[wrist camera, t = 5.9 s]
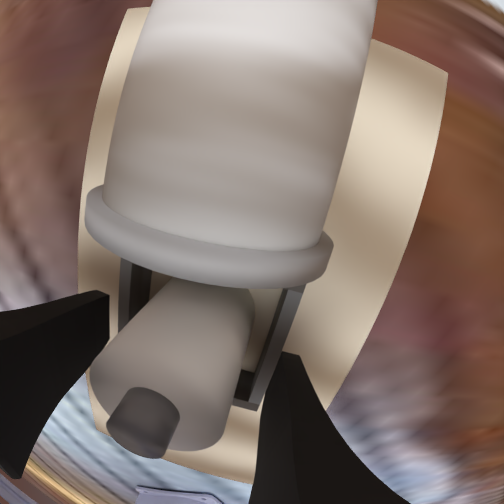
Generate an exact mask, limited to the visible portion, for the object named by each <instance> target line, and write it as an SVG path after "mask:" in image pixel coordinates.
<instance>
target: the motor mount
mask: <svg viewBox="0 0 504 504" xmlns="http://www.w3.org/2000/svg"><path fill="white" fill-rule="evenodd" d="M377 1H378V0H153V3H152V5H151V7H144V8H132V9H128V10H127V12H126V15H125V17H124V20H123V22H122V25H121V27H120V30H119V33H118V35H117V38H116V41H115V44H114V47H113V50H112V52H111V56H110V59H109V62H108V65H107V68H106V72H105V75H104V79H103V82H102V86H101V89H100V93H99V97H98V101H97V105H96V110H95V114H94V119H93V123H92V128H91V133H90V139H89V144H88V150H87V156H86V162H85V169H84V177H83V185H82V194H81V205H80V217H79V234H78V294H80V293H84V292H88V291H92V290H99V291H101V292H104V293H106V294H109V295H110V339H109V341H108V343H107V344H106V346H107V345H108V344H109V343H110V342H111V341H112V340H113V338H114V337H115V336H116V335H117V334H118V333H119V332H120V331H121V330H122V329H123V328H124V327H125V326H126V325H127V324H128V323H129V322H130V321H131V320H132V318H133V317H134V316H135V315H136V314H137V313H138V312H139V311H140V310H141V309H142V308H143V307H144V306H145V305H146V304H147V303H148V302H149V301H150V300H151V299H152V298H153V297H154V296H155V295H156V294H157V293H158V292H159V291H160V290H161V289H162V288H163V287H164V286H165V285H166V284H167V283H168V282H169V281H170V280H171V279H172V278H173V277H177V278H180V279H185V280H190V281H194V282H199V283H204V284H210V285H217V286H224V287H233V288H247V289H248V290H249V291H250V293H251V296H252V298H253V301H254V306H255V318H254V322H253V326H252V330H251V334H250V338H249V341H248V345H247V349H246V353H245V357H244V360H243V364H242V368H241V372H240V375H239V379H238V383H237V386H236V390H235V394H234V397H233V401H232V405H231V408H230V412H229V416H228V419H227V423H226V426H225V430H224V433H223V435H222V437H221V439H220V440H219V441H218V442H217V443H216V444H214V445H213V446H211V447H209V448H206V449H203V450H198V451H175V450H170V449H167V450H166V453H165V455H164V456H163V457H161V459H164V460H167V461H170V462H173V463H175V464H178V465H181V466H184V467H187V468H191V469H194V470H197V471H200V472H204V473H207V474H211V475H214V476H218V477H222V478H226V479H230V480H234V481H239V482H243V483H248V484H253V482H254V476H255V469H256V459H257V448H258V436H259V425H260V415H261V410H262V405H263V401H264V396H265V392H266V389H267V387H268V384H269V382H270V379H271V377H272V375H273V372H274V370H275V367H276V365H277V362H278V360H279V357H280V354H281V352H282V351H284V352H288V353H292V354H297V355H300V357H301V359H302V362H303V364H304V367H305V369H306V372H307V374H308V376H309V378H310V381H311V383H312V385H313V387H314V389H315V392H316V394H317V396H318V398H319V400H320V402H321V404H322V405H323V407H324V409H325V411H326V409H327V408H328V406H329V405H330V403H331V401H332V400H333V398H334V397H335V395H336V393H337V391H338V390H339V388H340V386H341V385H342V383H343V381H344V379H345V378H346V376H347V374H348V372H349V371H350V369H351V367H352V365H353V363H354V361H355V360H356V358H357V356H358V354H359V352H360V350H361V348H362V346H363V344H364V342H365V340H366V338H367V336H368V334H369V332H370V330H371V328H372V326H373V324H374V322H375V320H376V318H377V316H378V314H379V311H380V309H381V307H382V305H383V303H384V300H385V298H386V296H387V294H388V291H389V289H390V287H391V284H392V282H393V279H394V277H395V274H396V272H397V269H398V267H399V264H400V262H401V259H402V257H403V254H404V251H405V249H406V246H407V243H408V240H409V237H410V235H411V232H412V229H413V226H414V223H415V220H416V217H417V214H418V210H419V207H420V204H421V201H422V197H423V194H424V191H425V187H426V183H427V180H428V176H429V172H430V168H431V164H432V160H433V156H434V152H435V148H436V143H437V138H438V134H439V129H440V124H441V118H442V113H443V107H444V101H445V94H446V87H447V79H448V73H447V72H445V71H443V70H441V69H439V68H437V67H435V66H433V65H432V64H430V63H428V62H425V61H423V60H421V59H419V58H417V57H415V56H413V55H411V54H408V53H406V52H404V51H401V50H399V49H397V48H394V47H392V46H389V45H387V44H384V43H382V42H379V41H376V40H374V39H371V36H372V31H373V25H374V20H375V14H376V8H377ZM106 346H105V347H106ZM105 347H104V348H105ZM90 367H91V366H90ZM90 367H89V368H88V369H87V370H86V371H85V373H86V379H87V385H88V391H89V397H90V402H91V407H92V411H93V416H94V421H95V425H96V429H97V430H98V431H100V432H102V433H104V434H106V435H108V436H110V437H111V435H110V434H109V432H108V431H107V428H106V422H107V421H108V419H109V418H110V416H109V415H108V414H107V412H106V411H105V410H104V409H103V408H102V406H101V405H100V403H99V402H98V400H97V398H96V397H95V394H94V392H93V390H92V387H91V383H90V374H89V372H90Z"/></svg>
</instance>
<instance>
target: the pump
mask: <svg viewBox="0 0 504 504" xmlns="http://www.w3.org/2000/svg"><path fill="white" fill-rule="evenodd" d="M254 318H255V306H254V301H253V298H252V296H251V293H250V291H249V290H248V289H247V288H233V287H224V286H217V285H210V284H204V283H199V282H194V281H190V280H185V279H180V278H177V277H173V278H172V279H171V280H170V281H169V282H168V283H167V284H166V285H165V286H164V287H163V288H162V289H161V290H160V291H159V292H158V293H157V294H156V295H155V296H154V297H153V298H152V299H151V300H150V301H149V302H148V303H147V304H146V305H145V306H144V307H143V308H142V309H141V310H140V311H139V312H138V313H137V314H136V315H135V316H134V317H133V318H132V320H131V321H130V322H129V323H128V324H127V325H126V326H125V327H124V328H123V329H122V330H121V331H120V332H119V333H118V334H117V335H116V336H115V337H114V338H113V340H112V341H111V342H110V343H109V344H108V345H107V346H106V347H105V348H104V349H103V350H102V351H101V352H100V354H99V355H98V356H97V357H96V358H95V359H94V361H93V362H92V364H91V367H90V372H89V374H90V383H91V387H92V390H93V392H94V394H95V397H96V398H97V400H98V402H99V403H100V405H101V406H102V408H103V409H104V410H105V411H106V412H107V414H108V415H109V416H110V418H109V419H108V421H107V422H106V428H107V431H108V432H109V434H110V435H111V437H112V438H113V439H114V440H115V441H116V442H117V443H118V444H120V445H121V446H122V447H124V448H125V449H127V450H129V451H130V452H132V453H134V454H137V455H139V456H142V457H146V458H152V459H157V458H161V457H163V456H164V455H165V453H166V450H167V449H170V450H175V451H198V450H203V449H206V448H209V447H211V446H213V445H214V444H216V443H217V442H218V441H219V440H220V439H221V437H222V435H223V433H224V430H225V426H226V423H227V419H228V416H229V412H230V408H231V405H232V401H233V397H234V394H235V390H236V386H237V383H238V379H239V375H240V372H241V368H242V364H243V360H244V357H245V353H246V349H247V345H248V341H249V338H250V334H251V330H252V326H253V322H254Z"/></svg>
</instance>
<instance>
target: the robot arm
mask: <svg viewBox="0 0 504 504" xmlns="http://www.w3.org/2000/svg"><path fill="white" fill-rule="evenodd" d="M109 339H110V295H109V294H106V293H104V292H101V291H99V290H92V291H88V292H84V293H80V294H76V295H73V296H69V297H65V298H62V299H58V300H55V301H51V302H48V303H43V304H39V305H35V306H31V307H27V308H22V309H17V310H10V311H3V312H0V468H1V469H2V470H3V471H4V472H5V473H6V474H7V475H9V476H10V477H11V478H13V479H20V478H21V477H22V474H23V471H24V468H25V466H26V463H27V461H28V458H29V456H30V453H31V451H32V449H33V447H34V445H35V443H36V441H37V439H38V437H39V435H40V433H41V431H42V429H43V428H44V426H45V424H46V422H47V421H48V419H49V417H50V416H51V414H52V412H53V411H54V409H55V408H56V406H57V405H58V403H59V402H60V400H61V399H62V398H63V397H64V395H65V394H66V393H67V392H68V391H69V390H70V388H71V387H72V386H73V385H74V384H75V383H76V382H77V380H78V379H79V378H80V377H81V376H82V375H83V374H84V373H85V371H86V370H87V369H88V368H89V367H90V366H91V364H92V362H93V361H94V359H95V358H96V357H97V356H98V355H99V354H100V352H101V351H102V350H103V349H104V347H105V346H106V344H107V343H108V341H109ZM136 491H138V492H139V495H138V497H137V500H136V502H135V504H222V503H221V502H220V501H218V500H217V499H216V498H215V497H214V496H212V495H209V494H194V493H182V492H172V491H164V490H157V489H150V488H144V487H138V486H137V487H136ZM0 495H1V496H2V497H3V498H4V499H5V500H6V501H7V502H9V503H10V504H38V503H37V502H35V501H34V500H32V499H31V498H30V497H28V496H27V495H26V494H24V493H23V492H22V491H21V490H19V489H18V488H17V487H15V486H14V485H13V484H12V483H11V482H9V481H8V480H7V479H6V478H5V477H4V476H3V475H1V474H0ZM0 504H1V503H0ZM249 504H410V503H409V502H408V501H406V500H405V499H403V498H402V497H400V496H399V495H398V494H396V493H395V492H394V491H392V490H391V489H390V488H389V487H388V486H387V485H385V484H384V483H383V482H382V481H381V480H380V479H379V478H377V477H376V476H375V475H374V474H373V473H372V472H371V471H370V470H369V469H368V468H367V467H366V465H365V464H364V463H363V462H362V461H361V460H360V459H359V458H358V457H357V456H356V454H355V453H354V452H353V451H352V450H351V448H350V447H349V446H348V445H347V443H346V442H345V440H344V439H343V438H342V436H341V435H340V434H339V432H338V431H337V429H336V428H335V426H334V425H333V423H332V421H331V420H330V418H329V416H328V414H327V413H326V411H325V409H324V407H323V405H322V404H321V402H320V400H319V398H318V396H317V394H316V392H315V389H314V387H313V385H312V383H311V381H310V378H309V376H308V374H307V372H306V369H305V367H304V364H303V362H302V359H301V357H300V355H297V354H292V353H288V352H284V351H282V352H281V354H280V357H279V360H278V362H277V365H276V367H275V370H274V372H273V375H272V377H271V379H270V382H269V384H268V387H267V389H266V392H265V396H264V401H263V405H262V410H261V415H260V425H259V436H258V448H257V459H256V469H255V476H254V482H253V486H252V491H251V495H250V499H249Z"/></svg>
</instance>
